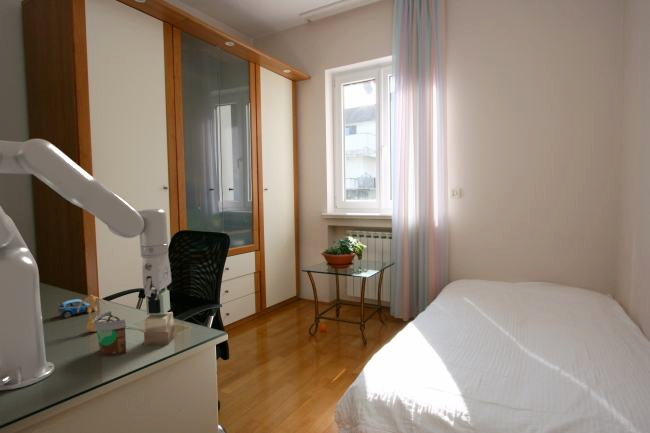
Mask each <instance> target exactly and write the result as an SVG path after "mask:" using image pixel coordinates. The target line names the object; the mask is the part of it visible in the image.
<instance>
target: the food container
mask: <svg viewBox="0 0 650 433" xmlns="http://www.w3.org/2000/svg"><path fill="white" fill-rule="evenodd" d="M96 316H97V317H96V318H95V317H94V319H95V320H94V325H93V328H95V329H96V330H97V331H96V334H97V340H98V347H99V352H100V355H101V356H104V357H114V356H120V355H121V356H122V355H124V354H127V341H126V327H127V324H126V319H120V318H119V317H117V316H114V315H112V311H107V312H104V313H101V314H99V315H96Z"/></svg>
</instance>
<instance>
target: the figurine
mask: <svg viewBox="0 0 650 433" xmlns="http://www.w3.org/2000/svg"><path fill="white" fill-rule="evenodd" d="M96 300H98V301H99V300H100V301H101V302H102V303H103V304H104V306H105V307H106V308H107V307H108V306H107V302H106V301H105V300H104V299H103V298H101V297H98V296H94V295H93V294H90V295H89V296H88V297H86V298H85V299H84V300H82V302H80V305H79V307H78V311H77V312H79V308H80V307H81V304H82V303H83V302H88V303H89V304H90V307H89V306H88V307H87V308H88V313H87V314H88V316H89V321H88V323H87V324H86V328H87V330H88V331H89V332H91V333H97V330H96V329H95V328H93V325H94V320H95V318H96V317H97V316H98V315H97V314H98V304H95V303H96ZM94 304H95V305H94ZM91 308H93V312H94V319H93V318H92V313H91V311H92V309H91Z"/></svg>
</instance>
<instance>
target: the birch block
mask: <svg viewBox="0 0 650 433" xmlns="http://www.w3.org/2000/svg"><path fill="white" fill-rule="evenodd" d="M173 324H174V313H173V311H170V312H168V311H167V312H166V313H165V314H162V315H148V316H147V317H146V318H145V319H144V327H145V329H144V330H145V332H146V333H152V332H167V331H168V330H169V329H170V327H171V326H172V325H173Z"/></svg>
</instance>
